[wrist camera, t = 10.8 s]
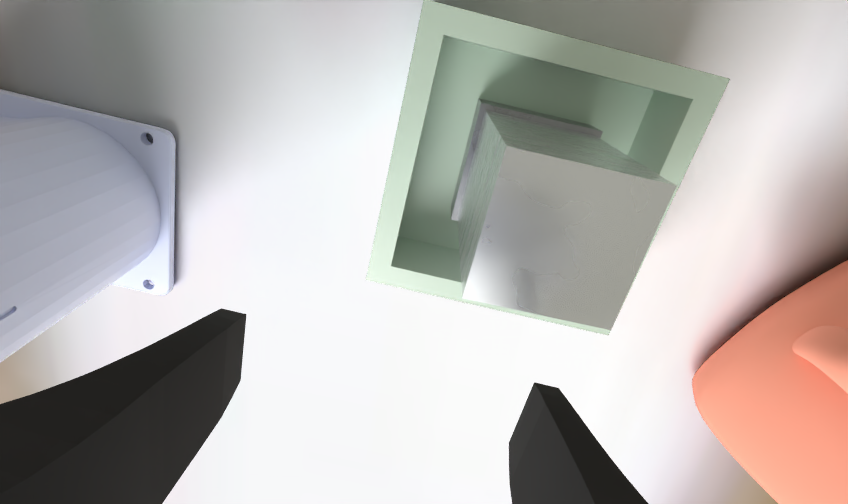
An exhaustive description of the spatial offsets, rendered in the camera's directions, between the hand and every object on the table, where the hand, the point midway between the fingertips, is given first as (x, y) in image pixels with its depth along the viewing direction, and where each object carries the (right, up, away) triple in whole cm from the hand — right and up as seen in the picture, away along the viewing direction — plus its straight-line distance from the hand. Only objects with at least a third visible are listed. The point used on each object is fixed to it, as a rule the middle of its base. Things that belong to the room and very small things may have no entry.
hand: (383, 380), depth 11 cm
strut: (+5, +7, +7) cm, 11 cm away
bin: (+5, +7, +8) cm, 12 cm away
